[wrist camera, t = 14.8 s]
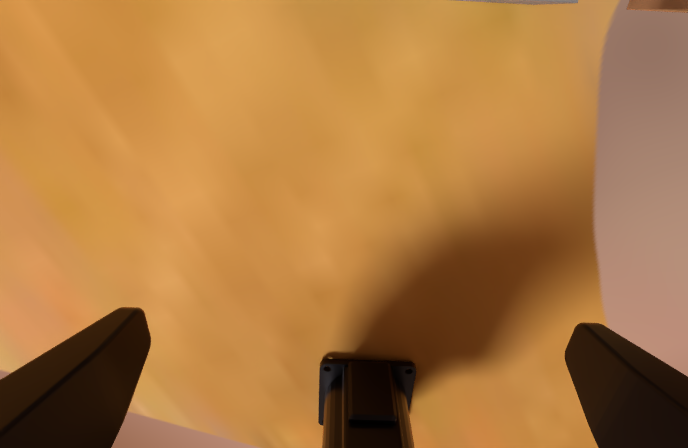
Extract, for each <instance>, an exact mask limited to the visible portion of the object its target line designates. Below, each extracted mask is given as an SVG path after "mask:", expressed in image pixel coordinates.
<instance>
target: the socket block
mask: <svg viewBox="0 0 688 448" xmlns="http://www.w3.org/2000/svg"><path fill="white" fill-rule="evenodd" d="M627 10H647V11H665V12H684V13H685V12H686V13H688V0H630V1H629V4H628V7H627Z"/></svg>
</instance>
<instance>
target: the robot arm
mask: <svg viewBox="0 0 688 448" xmlns="http://www.w3.org/2000/svg"><path fill="white" fill-rule="evenodd" d="M150 345H151V337H150V332H149V329H148V325H147V321H146V317H145V313H144V311H143V310H142V309H141V308H134V307H121V308H118V309H117V310H115V311H113V312H112V313H110V314H108V315H107V316H105V317H103V318H102V319H100V320H98V321H97V322H95V323H93V324H92V325H90V326H88V327H87V328H85V329H83V330H82V331H80V332H78V333H77V334H75V335H73V336H72V337H70V338H69V339H67V340H65V341H64V342H62V343H60V344H59V345H57V346H55V347H54V348H52V349H50V350H49V351H47V352H45V353H44V354H42V355H40V356H39V357H37V358H35V359H34V360H32V361H30V362H29V363H27V364H26V365H24V366H22V367H21V368H19V369H17V370H16V371H14V372H12V373H11V374H9V375H7V376H6V377H4V378H2V379H1V380H0V448H111V447H112V445H113V443H114V441H115V439H116V436H117V434H118V432H119V430H120V428H121V426H122V423H123V421H124V419H125V416H126V413H127V411H128V408H129V406H130V403H131V400H132V397H133V394H134V392H135V389H136V386H137V383H138V380H139V378H140V375H141V372H142V369H143V366H144V364H145V361H146V358H147V355H148V352H149V349H150ZM565 361H566V365H567V367H568V370H569V373H570V375H571V378H572V381H573V384H574V386H575V389H576V392H577V394H578V397H579V400H580V403H581V405H582V408H583V411H584V413H585V416H586V419H587V422H588V424H589V427H590V429H591V432H592V434H593V436H594V438H595V441H596V443H597V445H598V447H599V448H688V377H687V376H686V375H684V374H682V373H681V372H679V371H678V370H676V369H674V368H672V367H671V366H669V365H668V364H666V363H664V362H663V361H661V360H660V359H658V358H656V357H655V356H653V355H651V354H650V353H648V352H646V351H645V350H643V349H641V348H640V347H638V346H636V345H635V344H633V343H632V342H630V341H628V340H627V339H625V338H623V337H621V336H620V335H618V334H617V333H615V332H614V331H612V330H610V329H609V328H607V327H605V326H604V325H602V324H599V323H579V324H578V325H577V326H576V327H575V329H574V331H573V334H572V336H571V338H570V341H569V343H568V345H567V348H566V350H565ZM326 366H328V367H326ZM407 369H408V370H407ZM415 376H416V367H415V364H414V363H412V362H405V361H373V360H341V359H325V360H322V361H321V363H320V380H319V424H320V425H323V445H322V448H414V442H413V436H412V430H411V424H410V417H409V407H410V402H411V397H412V391H413V386H414V381H415Z"/></svg>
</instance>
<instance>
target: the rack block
mask: <svg viewBox="0 0 688 448" xmlns="http://www.w3.org/2000/svg"><path fill="white" fill-rule="evenodd" d="M458 1H477V2H496V3H515V4H533V5H536V4H563V3H578V0H458Z"/></svg>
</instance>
